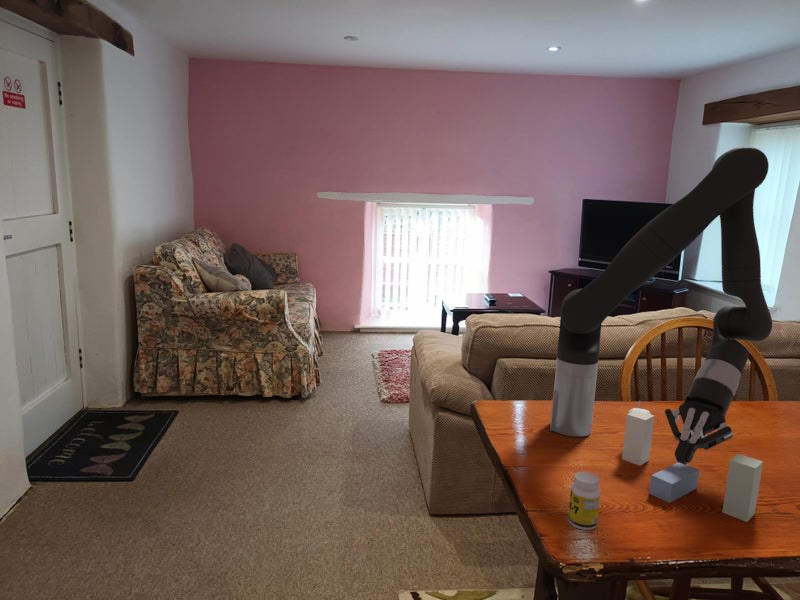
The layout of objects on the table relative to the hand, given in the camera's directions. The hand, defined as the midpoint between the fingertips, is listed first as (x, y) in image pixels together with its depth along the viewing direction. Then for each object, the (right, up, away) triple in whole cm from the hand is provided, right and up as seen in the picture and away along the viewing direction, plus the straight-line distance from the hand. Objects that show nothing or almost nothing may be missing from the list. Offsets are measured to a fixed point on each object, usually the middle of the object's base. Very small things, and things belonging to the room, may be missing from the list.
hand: (680, 461), depth 112 cm
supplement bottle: (-23, -7, -12) cm, 27 cm away
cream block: (-4, -3, +13) cm, 13 cm away
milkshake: (-1, -2, +19) cm, 19 cm away
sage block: (+7, -7, -7) cm, 12 cm away
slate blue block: (+3, -3, +3) cm, 5 cm away
